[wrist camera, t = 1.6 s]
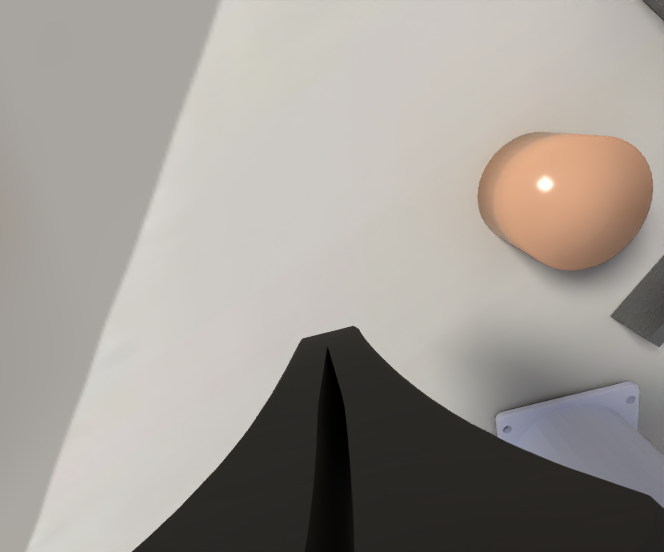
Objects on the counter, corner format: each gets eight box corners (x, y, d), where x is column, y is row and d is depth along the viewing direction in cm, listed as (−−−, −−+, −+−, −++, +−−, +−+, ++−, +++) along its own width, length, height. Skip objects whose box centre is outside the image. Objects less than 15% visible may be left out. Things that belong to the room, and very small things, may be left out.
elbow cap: (584, 227, 20) (649, 252, 16) (483, 252, 20) (524, 284, 16) (583, 119, 18) (656, 119, 14) (471, 148, 18) (515, 156, 15)
